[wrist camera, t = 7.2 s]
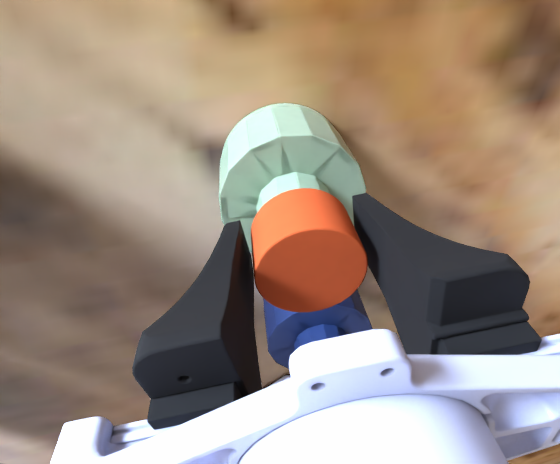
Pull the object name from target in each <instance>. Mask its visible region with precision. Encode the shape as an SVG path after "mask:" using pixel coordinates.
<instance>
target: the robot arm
mask: <svg viewBox="0 0 560 464" xmlns="http://www.w3.org/2000/svg"><path fill="white" fill-rule="evenodd" d="M352 203H353V217H354V228H355V230H356V232H357V234H358V236H359V238H360V240H361V243H362V245H363V247H364V249H365V251H366V254H367V258H368V266H369V268H370V270H371V272H372V274H373V276H374V277H375V279H376V281H377V283H378V285H379V287H380V289H381V291H382V293H383V295H384V297H385V299H386V302H387V304H388V307H389V310H390V312H391V315H392V317H393V320H394V323H395V325H396V328H397V331H398V333H399V336H400V339H401V341H400V339H399V337H398V335H397V333H395V332H392V331H390V330H387V329H371V330H366V331H361V332H357V333H352V334H347V335H342V336H338V337H333V338H328V339H323V340H319V341H314V342H310V343H308V344H305V345H302V346H300V347H299V348H298V349H297V350H296V351H294V352H293V353H292V354H291V355H290V359H289V369H290V375H286V376H284V377H282V378H281V379H279V380H278V381H276V382H275V383H273V384H271V385H270V386H268V387H267V388H264V389H262V385H261V378H260V371H259V363H258V355H257V346H256V338H255V329H254V274H253V266H252V259H251V254H250V251H249V247H248V244H247V241H246V238H245V234H244V231H243V228H242V225H241V221H240V220H238V221H234V222H229V223H226V224H225V226H224V228H223V231H222V233H221V235H220V238H219V240H218V242H217V244H216V246H215V248H214V250H213V252H212V254H211V256H210V258H209V260H208V261H207V263H206V265H205V267H204V268H203V270H202V271H201V273H200V274H199V276H198V277H197V279H196V280H195V282H194V283H193V284H192V286H191V287H190V288H189V289H188V290H187V292H186V293H185V294H184V295H183V296H182V297H181V298H180V300H179V301H178V302H177V303H176V304H175V305H174V306H173V307H172V308H171V309H169V310H168V311H167V312H166V313H165V314H164V315H163V316H162V317H161V318H159V319H158V320H157V321H156V322H154V323H153V324H152V325H151V326H149V327H148V328H147V329H146V330H144V331H143V332H142V335H141V338H140V340H139V343H138V347H137V350H136V355H135V359H134V363H133V367H132V369H133V376H134V377H135V379H136V381H137V382H138V383H139V384H140V386H141V387H142V388H143V389H144V391H145V392H146V393H147V394H148V396H149V397H150V398H151V401H150V407H149V412H148V418H147V419H146V420H141V421H136V422H132V423H127V424H122V425H117V426H113V425H112V423H111V422H110V421H109V420H108V419H107V418H105V417H101V416H95V417H89V418H85V419H80V420H75V421H70V422H67V423H65V424H64V425H63V428H62V431H61V434H60V437H59V440H58V442H57V445H56V448H55V451H54V454H53V457H52V460H51V462H50V464H509V463H508V462H507V460H511V459H514V458H517V457H520V456H523V455H526V454H529V453H532V452H536V451H539V450H542V449H545V448H548V447H551V446H554V445H557V444H560V334H556V335H551V336H547V337H542V338H540V337H539V335H538V334H537V333H536V332H535V330H534V329H533V328H532V327H531V326H530V324H529V323H528V322H527V321H528V320H529V316H528V314H527V313H526V312H525V311H524V310H523V308H522V306H523V303H524V301H525V298H526V295H527V292H528V289H529V284H530V281H529V277H528V275H527V274H526V273H525V272H524V271H523V270H522V269H521V267H520V266H519V265H518V264H517V263H516V262H515V261H514V260H513V259H512V258H511V257H510V256H508V255H507V254H504V253H498V252H493V251H488V250H483V249H479V248H475V247H471V246H467V245H464V244H460V243H457V242H454V241H451V240H448V239H446V238H443V237H440V236H438V235H435V234H433V233H431V232H428V231H426V230H424V229H422V228H420V227H418V226H416V225H414V224H412V223H410V222H409V221H407V220H405V219H403V218H402V217H400V216H399V215H397V214H396V213H394V212H392V211H391V210H390V209H388V208H387V207H385V206H384V205H382V204H381V203H380V202H378V201H377V200H376V199H374V198H373V197H371V196H370V195H369V194H367V193H363V194H358V195H354V196H352ZM401 342H402V344H401ZM402 345H403V346H402Z"/></svg>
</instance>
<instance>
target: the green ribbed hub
mask: <svg viewBox="0 0 560 464" xmlns="http://www.w3.org/2000/svg"><path fill="white" fill-rule="evenodd" d="M300 188H312V189H318V190H322V191H324V192H327V193H329V194H331V195H333V196H334V197H336V198H337V199H338V200H339V201H340V202H341V203H342V204H343V205H344V207H345V208H346V210H347V213H348V215H349V217H350V219H351V221H352V223H353V225H354V217H353V203H352V196H354V195H358V194H363V193H365V192H366V186H365V183H364V179H363V176H362V173H361V169H360V166H359V164H358V162H357V161H356V159H355V158H354V156H353V154H352V153H351V151H350V150H349V148H348V146H347V145H346V143H345V142H344V140H343V139H342V137H341V135H340V134H339V132H338V131H337V130H336V129H335V128H334V127H333V125H332V124H331V123H330V122H329V121H328V120H327V119H326V118H325V117H324V116H323V115H321V114H320V113H318V112H317V111H315V110H313V109H311V108H308V107H305V106H302V105H298V104H289V103H282V104H274V105H269V106H265V107H263V108H260V109H258V110H256V111H254V112H252V113H250V114H249V115H247V116H246V117H244V118H243V119H242V120H241V121H240V122H239V123H238V124H237V125H236V126H235V127H234V129H233V130H232V131H231V133H230V134H229V136H228V138H227V140H226V142H225V144H224V148H223V151H222V156H221V159H220V182H219V202H220V212H221V220H222V222H223V224H224V225H225V224H226V223H229V222H234V221H238V220H240V221H241V225H242V228H243V231H244V234H245V238H246V241H247V244H248V247H249V251H250V252H252V244H251V226H252V223H253V220H254V218H255V216H256V214H257V212H258V211H259V210H260V208H261V207H262V206H263V205H264V204H265V203H266V202H268V201H269V200H270V199H272V198H273V197H275V196H276V195H279V194H281V193H283V192H286V191H289V190H293V189H300Z"/></svg>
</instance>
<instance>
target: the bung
mask: <svg viewBox="0 0 560 464" xmlns="http://www.w3.org/2000/svg"><path fill="white" fill-rule="evenodd" d="M251 244H252V257H253V269H254V279H255V284H256V287H257V289H258V291H259V293H260V294H261V296H262V297H263V298H264V299H265V300H266V301H267V302H269V303H270V304H272V305H273V306H275V307H277V308H280V309H283V310H287V311H292V312H313V311H319V310H323V309H326V308H329V307H332V306H334V305H336V304H338V303H340V302H342V301H343V300H345V299H347V298H348V297H349V296H350V295H352V294H353V293H354V292H355V291H356V290H357V288H358V287H359V286H360V285H361V283H362V282H363V280H364V277H365V275H366V272H367V266H368V258H367V254H366V251H365V249H364V247H363V245H362V243H361V240H360V238H359V236H358V234H357V232H356V230H355V228H354V225H353V223H352V221H351V219H350V217H349V215H348V213H347V210H346V208H345V207H344V205H343V204H342V203H341V202H340V201H339V200H338V199H337V198H336V197H334V196H333V195H331V194H329V193H327V192H324V191H322V190H318V189H312V188H300V189H293V190H289V191H286V192H283V193H281V194H279V195H276V196H275V197H273V198H272V199H270V200H269V201H268V202H266V203H265V204H264V205H263V206H262V207H261V208H260V210H259V211H258V212H257V214H256V216H255V218H254V220H253V223H252V226H251Z"/></svg>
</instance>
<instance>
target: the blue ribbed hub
mask: <svg viewBox="0 0 560 464" xmlns="http://www.w3.org/2000/svg"><path fill="white" fill-rule="evenodd" d="M263 300H264V315H265V324H266V334H267V344H268V352H269V353H270V355H271V356H272V357H273V359H274V360H275V361H276V362H277V363H278V364H280V365H282V366H284V367H286V368H288V369H289V359H290V355H291V354H292V353H293V352H294V351H296V350H297V349H298V348H299V347H300V346H302V345H305V344H308V343H310V342H314V341H319V340H323V339H328V338H333V337H338V336H342V335H347V334H352V333H357V332H361V331H366V330H371V329H372V326H371V324H370V321H369V318H368V316H367V313H366V311H365V308H364V306H363V303H362V300H361V298H360V295H359V293H358V290H356V291H355V292H354V293H353V294H352V295H350V296H349V297H348V298H347V299H345V300H343V301H342V302H340V303H338V304H336V305H334V306H332V307H329V308H326V309H323V310H319V311H313V312H292V311H287V310H283V309H280V308H277V307H275V306H273V305H272V304H270V303H269V302H267V301H266V300H265V299H264V298H263Z"/></svg>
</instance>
